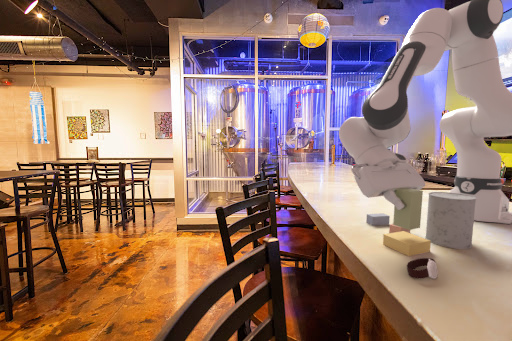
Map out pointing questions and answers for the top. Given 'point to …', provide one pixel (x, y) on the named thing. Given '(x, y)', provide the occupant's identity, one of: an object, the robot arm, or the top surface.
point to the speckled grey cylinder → (450, 219)
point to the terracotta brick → (397, 229)
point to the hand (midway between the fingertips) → (410, 207)
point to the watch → (428, 272)
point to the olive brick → (408, 209)
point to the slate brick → (377, 219)
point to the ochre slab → (406, 243)
